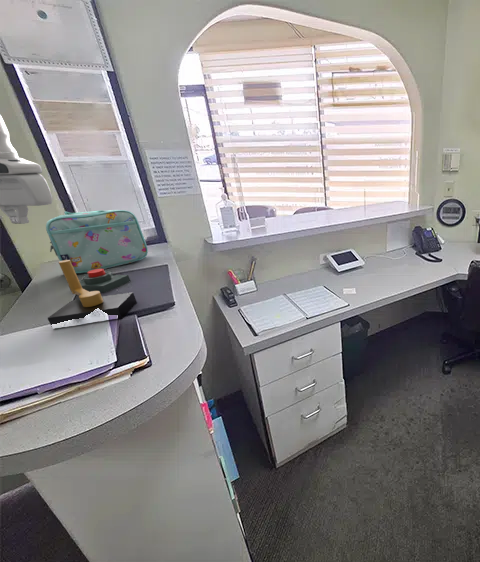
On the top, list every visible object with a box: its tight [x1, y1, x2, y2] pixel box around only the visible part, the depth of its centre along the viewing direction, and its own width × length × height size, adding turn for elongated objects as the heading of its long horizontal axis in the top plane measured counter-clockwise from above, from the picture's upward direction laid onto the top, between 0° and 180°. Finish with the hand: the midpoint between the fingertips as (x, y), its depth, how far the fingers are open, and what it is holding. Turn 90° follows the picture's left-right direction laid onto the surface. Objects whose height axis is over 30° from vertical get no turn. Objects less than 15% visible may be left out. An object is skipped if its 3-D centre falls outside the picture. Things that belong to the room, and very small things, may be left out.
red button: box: [86, 269, 106, 278], centre depth 97 cm, size 4×4×2 cm
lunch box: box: [45, 209, 149, 274], centre depth 114 cm, size 27×10×21 cm, turn 136°
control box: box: [67, 270, 131, 293], centre depth 98 cm, size 12×9×4 cm
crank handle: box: [58, 260, 103, 307], centre depth 78 cm, size 12×4×10 cm, turn 58°
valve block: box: [47, 291, 138, 326], centre depth 79 cm, size 14×10×3 cm
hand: (20, 223), depth 79 cm, fingers closed
